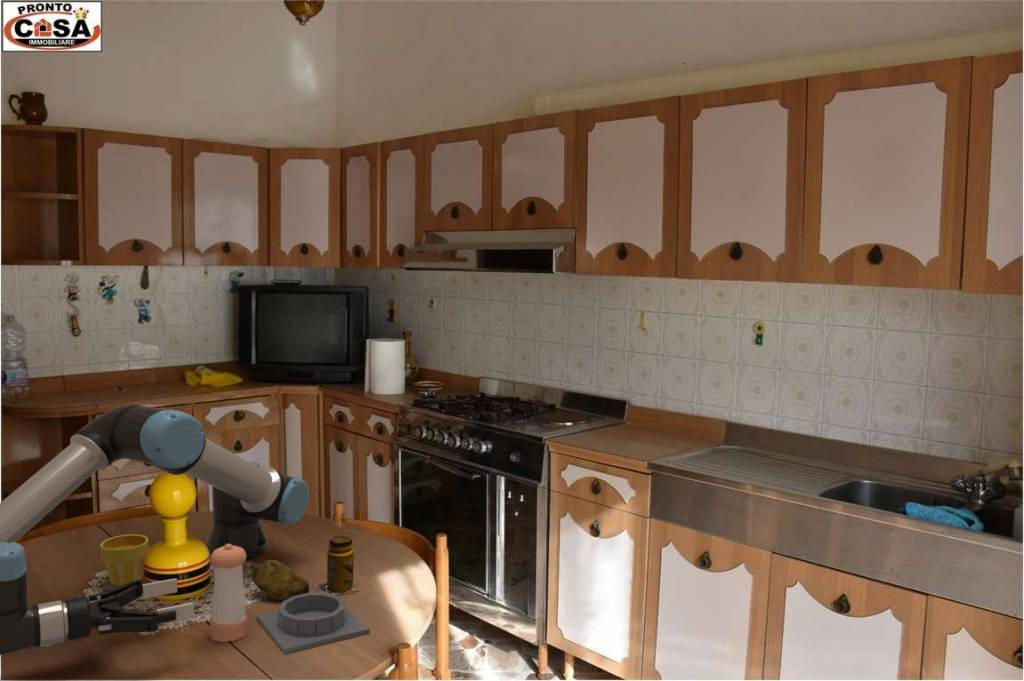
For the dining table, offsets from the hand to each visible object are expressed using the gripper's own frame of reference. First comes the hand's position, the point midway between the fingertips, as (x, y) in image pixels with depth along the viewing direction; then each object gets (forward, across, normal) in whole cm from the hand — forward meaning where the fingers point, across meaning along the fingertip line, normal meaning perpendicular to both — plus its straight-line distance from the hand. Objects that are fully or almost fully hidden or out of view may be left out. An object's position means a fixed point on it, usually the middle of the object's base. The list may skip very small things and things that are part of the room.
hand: (184, 597), depth 169 cm
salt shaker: (+9, 0, -10) cm, 13 cm away
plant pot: (-4, -39, -10) cm, 41 cm away
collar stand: (+25, +5, -10) cm, 27 cm away
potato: (+24, -13, -10) cm, 29 cm away
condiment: (+37, -11, -10) cm, 40 cm away
